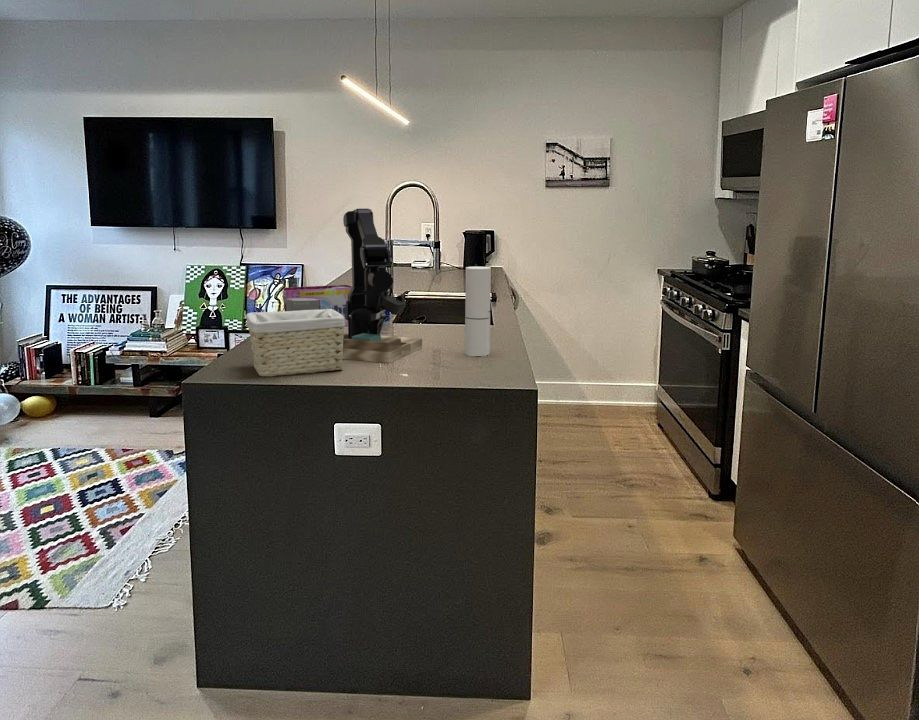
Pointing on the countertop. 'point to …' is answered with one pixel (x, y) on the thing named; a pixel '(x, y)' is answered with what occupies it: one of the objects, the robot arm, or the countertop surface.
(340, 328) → the storage basket
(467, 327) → the cylindrical container
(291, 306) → the skincare box
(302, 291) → the gum box
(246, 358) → the countertop surface
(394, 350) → the wooden tray
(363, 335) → the block
